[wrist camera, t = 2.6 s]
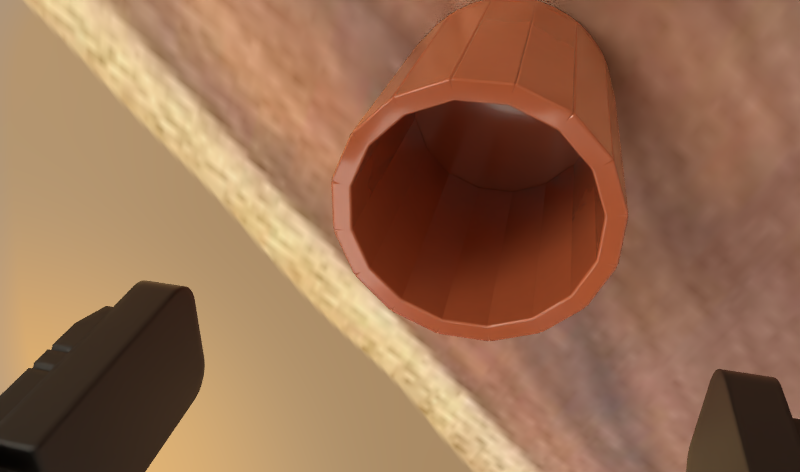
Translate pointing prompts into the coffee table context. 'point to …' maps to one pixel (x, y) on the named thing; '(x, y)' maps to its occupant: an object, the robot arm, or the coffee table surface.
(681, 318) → the coffee table surface
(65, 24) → the coffee table surface
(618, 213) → the pot
